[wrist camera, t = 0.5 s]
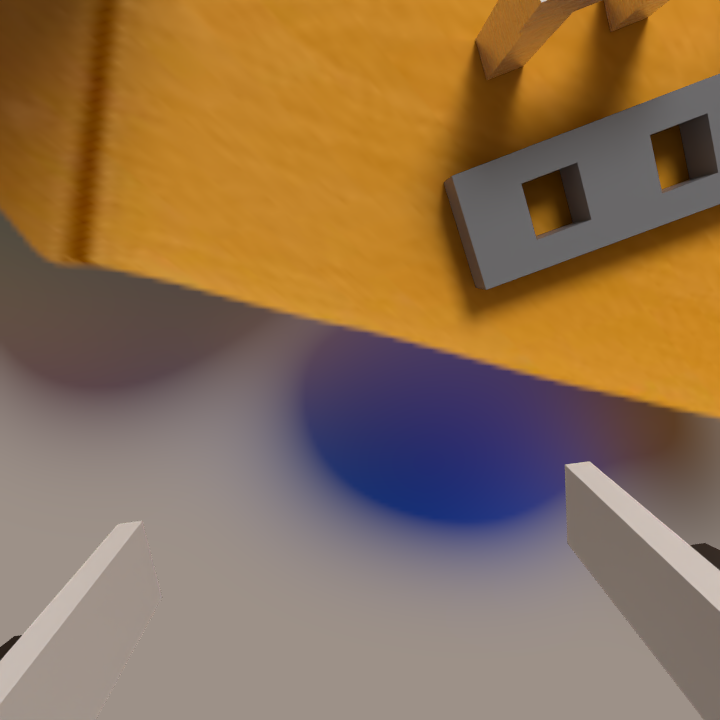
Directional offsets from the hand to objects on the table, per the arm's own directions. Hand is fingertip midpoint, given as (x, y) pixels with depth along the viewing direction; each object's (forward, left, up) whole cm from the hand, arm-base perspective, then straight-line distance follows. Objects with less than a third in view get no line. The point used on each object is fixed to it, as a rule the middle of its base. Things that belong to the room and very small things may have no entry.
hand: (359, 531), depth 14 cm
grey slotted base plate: (-6, +24, -27) cm, 36 cm away
